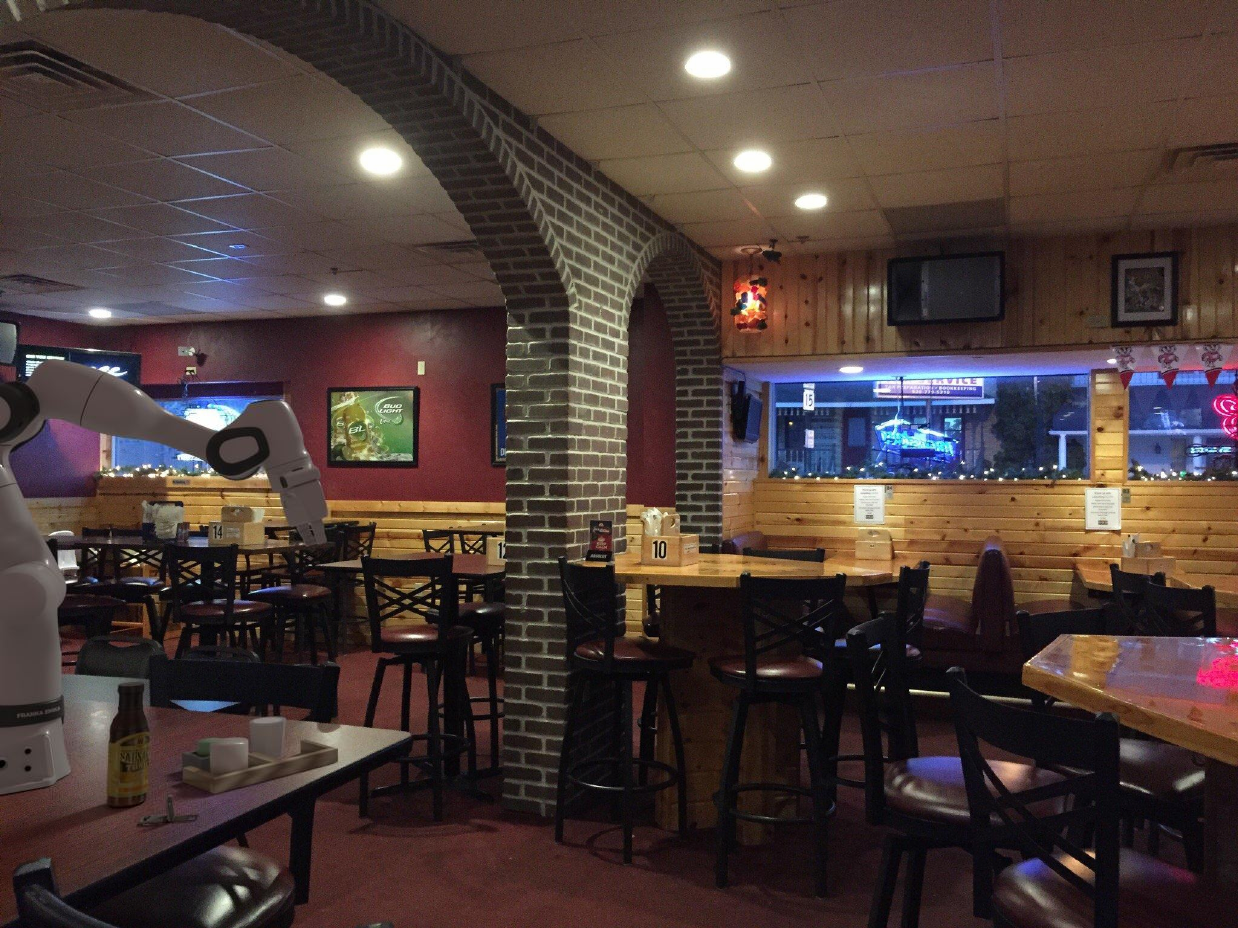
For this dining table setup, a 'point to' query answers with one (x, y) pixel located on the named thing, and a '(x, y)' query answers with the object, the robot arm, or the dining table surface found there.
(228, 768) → the white cylinder puck
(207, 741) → the button
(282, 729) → the white tapered cup
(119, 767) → the sauce bottle
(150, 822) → the strap clip
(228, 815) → the dining table surface
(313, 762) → the frame
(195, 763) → the button box
